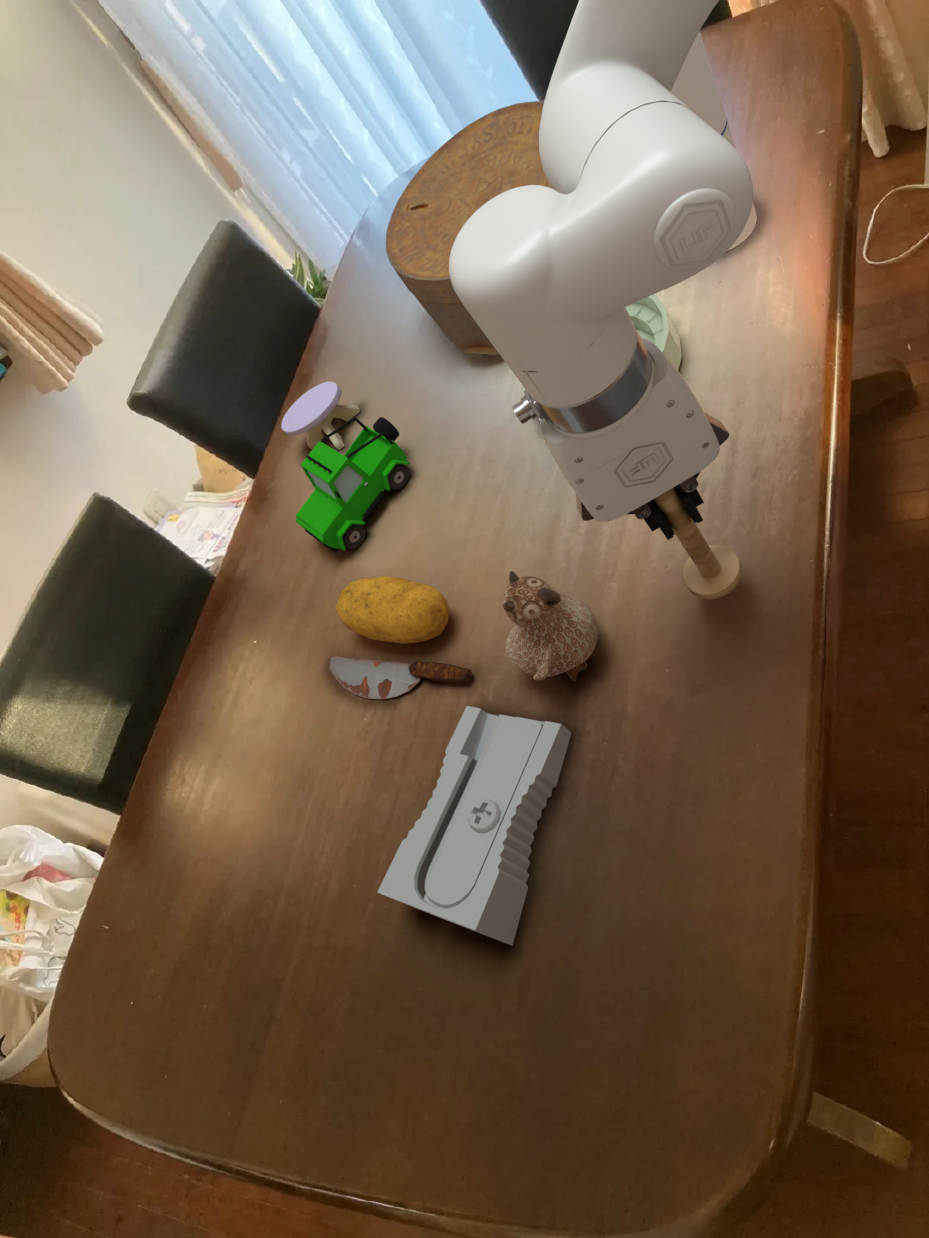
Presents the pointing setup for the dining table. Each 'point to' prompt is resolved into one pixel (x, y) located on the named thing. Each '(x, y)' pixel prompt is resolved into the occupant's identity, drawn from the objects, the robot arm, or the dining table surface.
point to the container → (460, 209)
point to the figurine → (547, 628)
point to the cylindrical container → (706, 104)
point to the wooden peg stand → (700, 553)
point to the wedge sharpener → (480, 824)
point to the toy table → (318, 414)
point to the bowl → (656, 327)
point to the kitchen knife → (390, 675)
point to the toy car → (350, 484)
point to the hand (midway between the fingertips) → (678, 516)
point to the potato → (393, 609)
